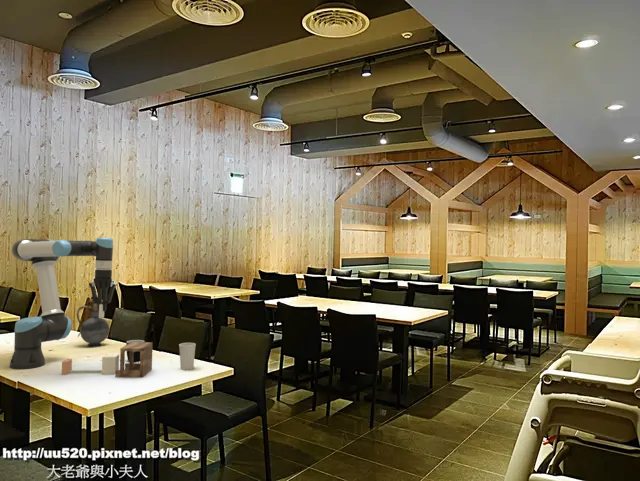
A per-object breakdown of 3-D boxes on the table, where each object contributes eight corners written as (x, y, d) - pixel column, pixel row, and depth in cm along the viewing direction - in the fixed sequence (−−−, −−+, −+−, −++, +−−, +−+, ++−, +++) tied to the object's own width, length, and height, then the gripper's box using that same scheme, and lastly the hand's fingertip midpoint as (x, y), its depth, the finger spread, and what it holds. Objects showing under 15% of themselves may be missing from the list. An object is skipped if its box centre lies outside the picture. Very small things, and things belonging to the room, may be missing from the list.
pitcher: (111, 345, 305) (112, 295, 305) (80, 349, 290) (81, 297, 291) (102, 342, 312) (103, 294, 312) (71, 347, 297) (72, 296, 297)
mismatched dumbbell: (61, 374, 234) (62, 357, 234) (66, 371, 240) (66, 354, 240) (115, 374, 237) (115, 357, 237) (118, 371, 243) (119, 354, 243)
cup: (180, 370, 246) (181, 346, 246) (177, 367, 253) (177, 343, 253) (196, 369, 249) (197, 345, 249) (193, 365, 256) (193, 342, 256)
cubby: (115, 377, 232) (116, 348, 232) (125, 369, 247) (126, 342, 247) (142, 377, 232) (143, 348, 233) (151, 369, 247) (152, 342, 248)
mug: (128, 363, 259) (128, 343, 259) (123, 360, 266) (124, 340, 267) (151, 360, 266) (152, 341, 266) (147, 357, 273) (147, 338, 273)
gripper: (86, 269, 241) (84, 318, 241) (114, 270, 242) (112, 319, 242) (93, 268, 249) (90, 316, 249) (119, 269, 249) (117, 316, 249)
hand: (101, 317), depth 245 cm, fingers closed
